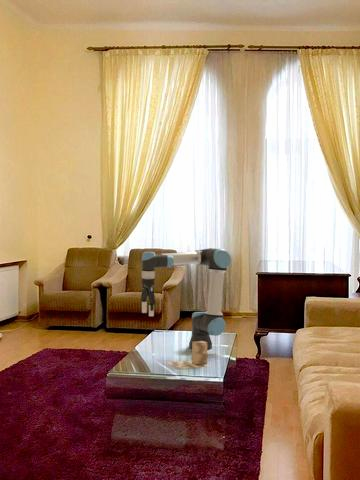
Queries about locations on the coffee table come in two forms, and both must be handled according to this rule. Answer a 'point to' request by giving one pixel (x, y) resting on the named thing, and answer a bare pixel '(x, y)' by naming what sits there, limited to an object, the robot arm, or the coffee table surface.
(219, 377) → the coffee table surface
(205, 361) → the block
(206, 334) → the robot arm
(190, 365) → the board
